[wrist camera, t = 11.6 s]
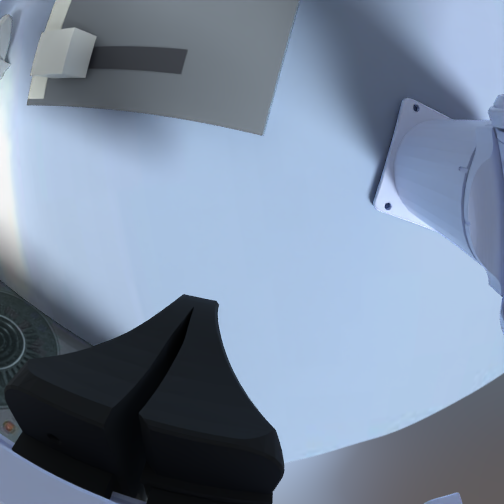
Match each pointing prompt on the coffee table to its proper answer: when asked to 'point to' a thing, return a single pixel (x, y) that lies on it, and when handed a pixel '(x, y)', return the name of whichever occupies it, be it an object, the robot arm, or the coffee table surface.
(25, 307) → the cassette player
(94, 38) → the switch tab
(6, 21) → the wrench
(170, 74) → the switch board
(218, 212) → the coffee table surface
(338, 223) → the coffee table surface
